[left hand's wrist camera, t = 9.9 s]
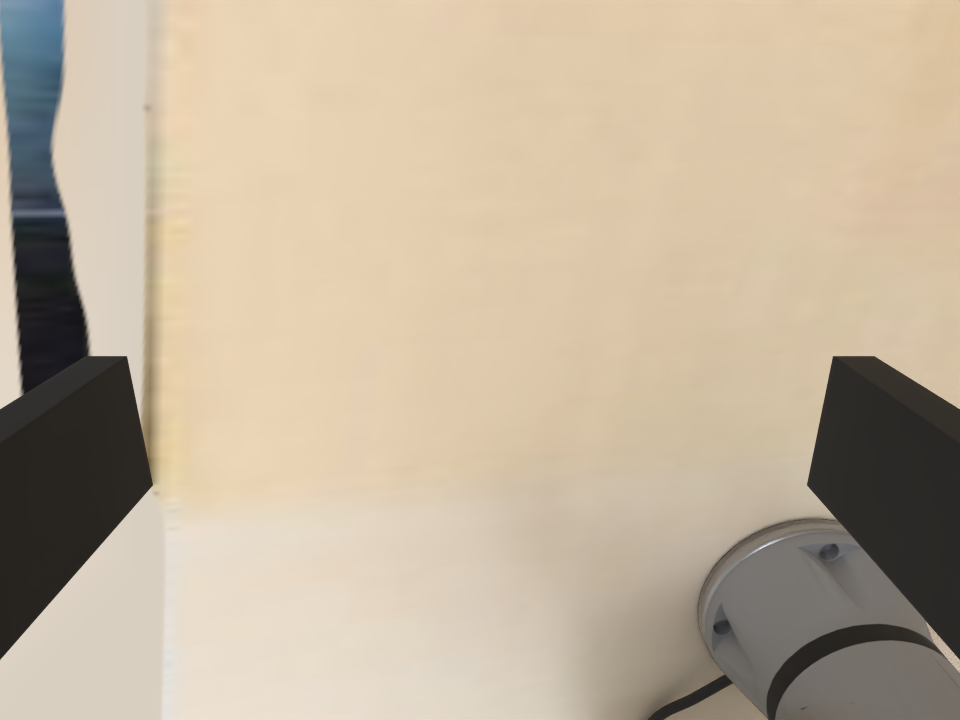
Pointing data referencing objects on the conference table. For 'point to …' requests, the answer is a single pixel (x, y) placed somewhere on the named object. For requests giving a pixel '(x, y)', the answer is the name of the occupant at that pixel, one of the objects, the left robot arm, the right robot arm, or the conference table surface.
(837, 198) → the conference table surface
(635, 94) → the conference table surface
